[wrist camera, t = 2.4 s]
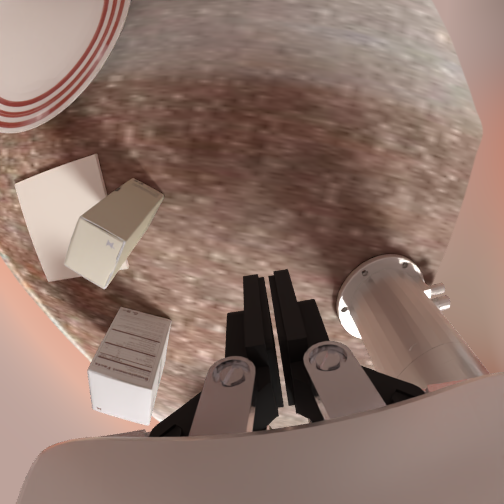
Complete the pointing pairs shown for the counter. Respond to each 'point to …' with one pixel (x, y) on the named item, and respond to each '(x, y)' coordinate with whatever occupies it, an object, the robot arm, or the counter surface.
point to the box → (111, 231)
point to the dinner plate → (52, 55)
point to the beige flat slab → (60, 210)
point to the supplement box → (129, 366)
